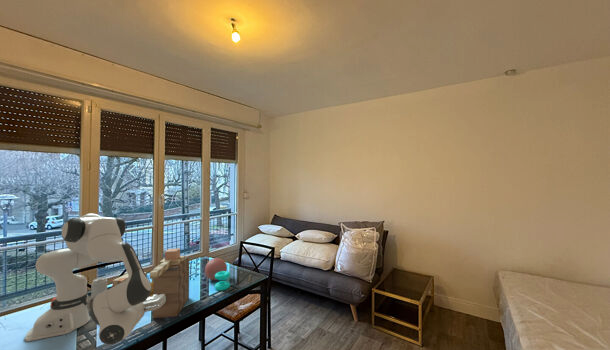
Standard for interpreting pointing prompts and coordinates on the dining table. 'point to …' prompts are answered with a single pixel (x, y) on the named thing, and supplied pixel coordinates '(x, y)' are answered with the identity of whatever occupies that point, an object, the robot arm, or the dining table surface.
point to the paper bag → (172, 289)
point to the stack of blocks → (122, 279)
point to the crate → (172, 254)
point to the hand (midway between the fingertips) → (144, 298)
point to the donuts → (222, 284)
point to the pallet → (164, 266)
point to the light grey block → (98, 286)
